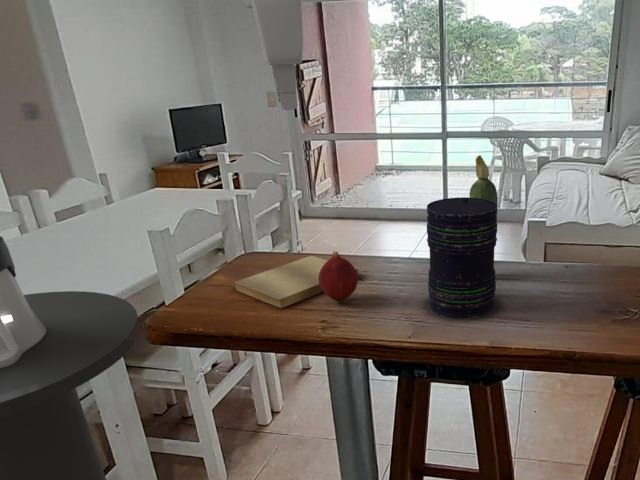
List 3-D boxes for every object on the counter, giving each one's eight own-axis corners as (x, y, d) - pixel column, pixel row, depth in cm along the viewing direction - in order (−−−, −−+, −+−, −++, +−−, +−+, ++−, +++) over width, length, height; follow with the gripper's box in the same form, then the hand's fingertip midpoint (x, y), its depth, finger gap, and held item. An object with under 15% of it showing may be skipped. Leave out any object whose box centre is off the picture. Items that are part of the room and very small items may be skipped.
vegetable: (485, 271, 97) (487, 150, 89) (501, 278, 94) (505, 154, 85) (463, 276, 95) (464, 153, 87) (479, 284, 92) (481, 157, 83)
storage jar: (490, 322, 79) (492, 216, 73) (421, 316, 81) (418, 213, 75) (499, 294, 88) (502, 198, 82) (436, 290, 90) (434, 196, 84)
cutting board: (281, 308, 86) (279, 299, 85) (236, 290, 93) (234, 281, 92) (358, 277, 97) (357, 268, 96) (312, 263, 104) (311, 255, 103)
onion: (367, 301, 87) (363, 251, 84) (336, 313, 84) (331, 261, 80) (343, 291, 91) (339, 243, 88) (313, 302, 87) (307, 252, 84)
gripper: (242, -17, 71) (260, 101, 77) (237, -42, 53) (261, 115, 59) (293, -18, 72) (307, 98, 78) (305, -43, 54) (322, 111, 60)
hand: (287, 106), depth 68 cm, fingers open, 8 cm apart
